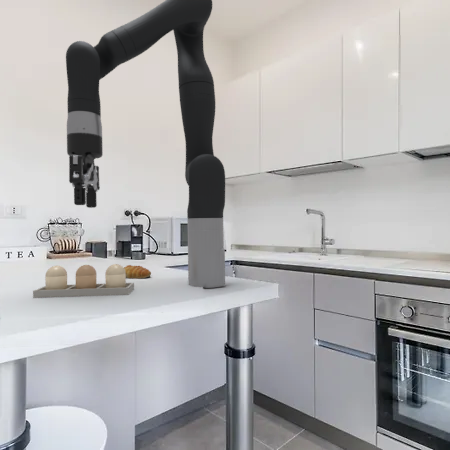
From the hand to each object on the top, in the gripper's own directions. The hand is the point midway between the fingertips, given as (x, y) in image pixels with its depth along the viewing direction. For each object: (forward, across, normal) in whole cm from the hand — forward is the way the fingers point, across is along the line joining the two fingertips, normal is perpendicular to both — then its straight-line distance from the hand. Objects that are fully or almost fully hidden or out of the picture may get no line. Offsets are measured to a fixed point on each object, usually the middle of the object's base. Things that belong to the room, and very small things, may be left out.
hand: (86, 206), depth 79 cm
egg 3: (+20, -1, -6) cm, 21 cm away
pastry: (+21, +28, -6) cm, 35 cm away
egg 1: (+20, 0, +7) cm, 21 cm away
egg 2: (+20, -1, 0) cm, 20 cm away
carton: (+20, -1, 0) cm, 20 cm away
